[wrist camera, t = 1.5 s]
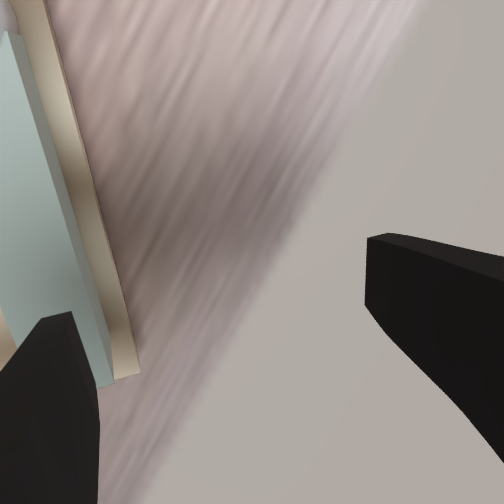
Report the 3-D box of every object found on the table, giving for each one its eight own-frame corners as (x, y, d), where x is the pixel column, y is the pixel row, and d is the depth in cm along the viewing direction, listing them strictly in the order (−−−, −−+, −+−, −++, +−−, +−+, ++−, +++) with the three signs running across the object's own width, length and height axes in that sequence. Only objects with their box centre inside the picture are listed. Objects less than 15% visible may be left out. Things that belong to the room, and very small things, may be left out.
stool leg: (-97, -27, 11) (-158, -56, 8) (2, -32, 12) (-23, -60, 9) (47, 352, 17) (40, 412, 14) (109, 335, 18) (114, 389, 15)
